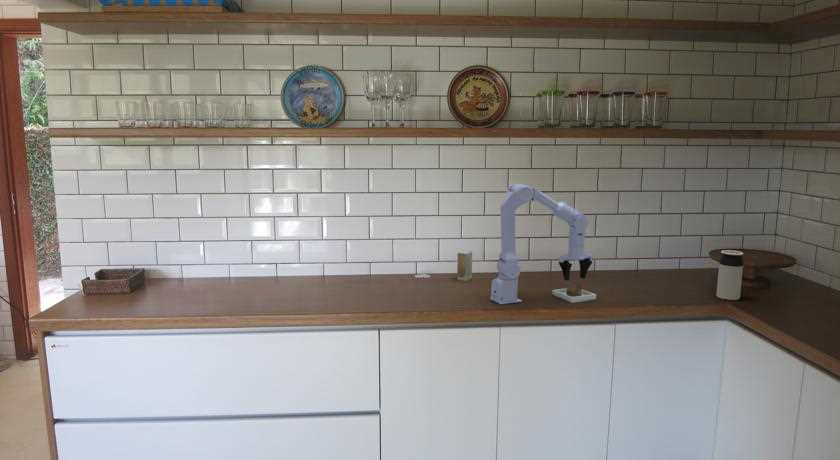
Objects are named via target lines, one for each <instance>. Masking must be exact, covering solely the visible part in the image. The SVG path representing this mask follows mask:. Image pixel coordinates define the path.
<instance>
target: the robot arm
mask: <svg viewBox="0 0 840 460" xmlns="http://www.w3.org/2000/svg"><path fill="white" fill-rule="evenodd" d="M530 201H531V202H538V203H540V204H542V205H543V206H545V207H547V208H548V209H550V210H552V214H553V216H555V217H557V218H558V219H559V220H562V221H563V222H564V223H566V224H567V225H568V226H569V231H568V250H567V253H568V254H566V255H561V256H559V255H558V259H557V262H558V265H559V266H560V269H561V272H562V274H563V275H562V276H563V280H564V281H568V282H569V280H570V275H571V268H572V266H573V263H570V262H576V261H578V263H579V278H581V279H583V280H584V279H586V276H587V274H588V271H589V269H590V268H591V265H592V264H593V254H591V253H585V237H586V236H585V235H586V228H587V227H588V226H589V221H588V220H589V219H588V218H587V215H586V214H583V213H580V212H579V210H578V209H577V208H573V207H571V206H569V203H568V202H566V201H559V202H557V201H555V200H554V199H552V198H551V197H549V196H548V195H547V194H545V193H544V192H542V191H540V190H539V189H537V188H534V187H532V186H531V185H528V184H522V183H519V182H516V183H513V184H512V185H510V186H509V187H508V188H507V189H506V193H505V196H504V197H503V199H502V201H501V204H500V242H501V245H500V247H501V249H500V250H501V251H500V253H499V255H498V261H497V264H496V269H497V270H498V272H499V273H498V276H497V277H496V278H494V279H492V281H491V285H490V287H491V288H490V297H489V299H490V300H491V301H493V302H495V303H497V304H499V305H507V304H514V303H521V302H523V300H522V299H519V298H518V292H519V291H518V289H519V288H518V287H519V286H518V285H519V284H518V283H519V282H518V281H519V276H520V275H521V267H520V265H519V259H518V256H517V253H516V210H517V209H519V208H520V207H521V206H522V205H525V204H526V203H529V202H530Z"/></svg>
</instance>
